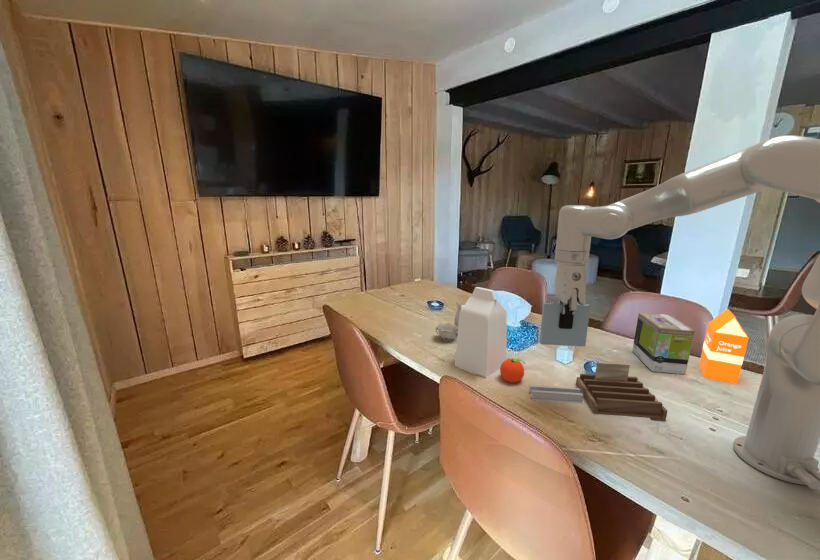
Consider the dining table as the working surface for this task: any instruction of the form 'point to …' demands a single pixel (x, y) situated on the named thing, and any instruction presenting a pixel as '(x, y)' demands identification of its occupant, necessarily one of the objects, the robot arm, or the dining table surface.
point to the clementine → (512, 370)
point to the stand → (556, 394)
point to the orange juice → (723, 348)
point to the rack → (618, 393)
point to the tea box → (663, 343)
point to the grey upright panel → (564, 336)
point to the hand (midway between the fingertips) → (564, 326)
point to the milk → (481, 334)
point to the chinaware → (451, 327)
